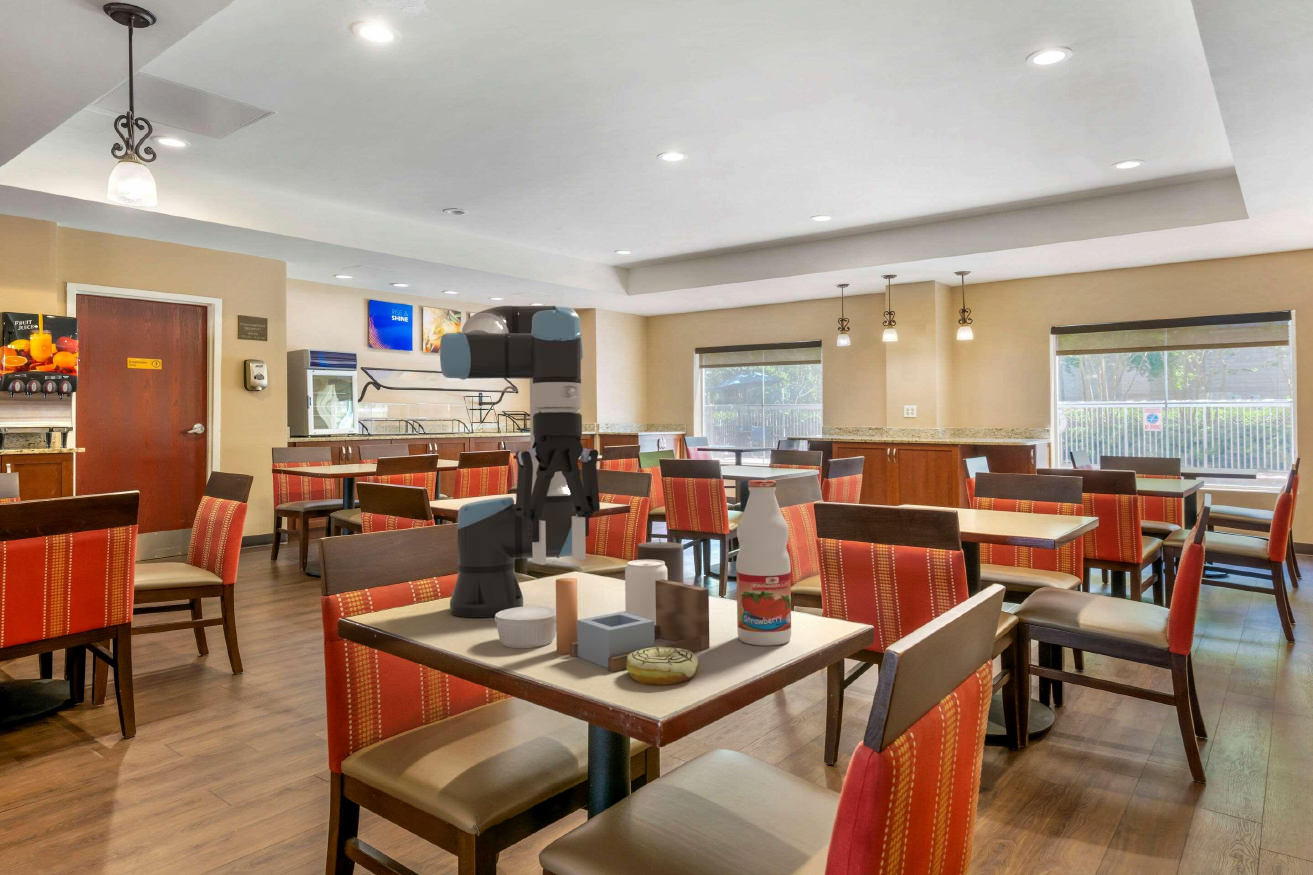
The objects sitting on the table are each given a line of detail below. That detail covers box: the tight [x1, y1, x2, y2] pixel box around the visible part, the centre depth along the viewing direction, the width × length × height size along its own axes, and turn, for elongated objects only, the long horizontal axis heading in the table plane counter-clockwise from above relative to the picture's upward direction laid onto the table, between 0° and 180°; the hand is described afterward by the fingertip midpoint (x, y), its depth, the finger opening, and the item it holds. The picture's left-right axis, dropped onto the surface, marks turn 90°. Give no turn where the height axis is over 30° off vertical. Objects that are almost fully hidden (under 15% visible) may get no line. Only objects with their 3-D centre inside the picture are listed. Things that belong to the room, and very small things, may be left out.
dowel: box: [555, 577, 579, 655], centre depth 128 cm, size 4×4×12 cm
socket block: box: [577, 611, 656, 669], centre depth 124 cm, size 9×9×6 cm
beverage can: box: [624, 559, 668, 625], centre depth 145 cm, size 8×8×12 cm
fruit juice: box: [735, 479, 792, 647], centre depth 133 cm, size 9×9×28 cm
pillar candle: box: [636, 537, 684, 584], centre depth 157 cm, size 10×10×15 cm
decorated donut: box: [626, 647, 699, 686], centre depth 114 cm, size 10×11×4 cm
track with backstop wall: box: [569, 579, 711, 673], centre depth 127 cm, size 12×20×10 cm, turn 129°
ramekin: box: [494, 605, 556, 649], centre depth 134 cm, size 11×11×5 cm
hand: (559, 560), depth 117 cm, fingers open, 6 cm apart
